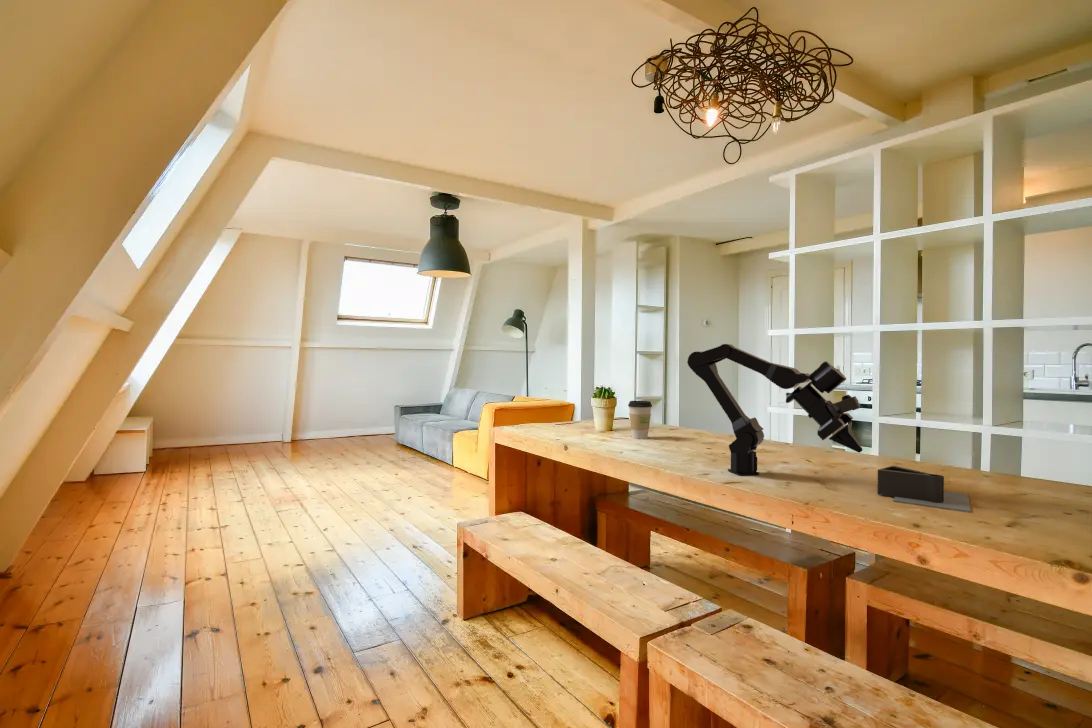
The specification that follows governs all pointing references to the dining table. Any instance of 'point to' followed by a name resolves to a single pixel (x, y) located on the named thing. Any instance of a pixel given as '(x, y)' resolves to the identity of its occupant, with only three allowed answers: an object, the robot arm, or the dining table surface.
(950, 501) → the mat
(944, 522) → the dining table surface
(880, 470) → the dark tent sign
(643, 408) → the coffee cup
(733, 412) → the robot arm
